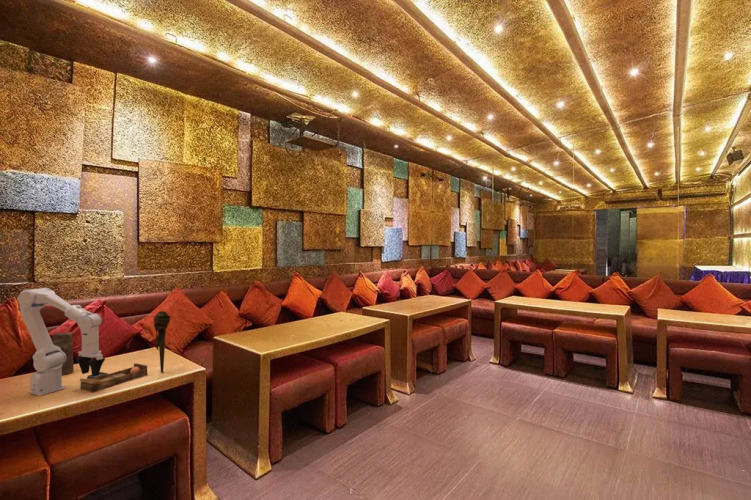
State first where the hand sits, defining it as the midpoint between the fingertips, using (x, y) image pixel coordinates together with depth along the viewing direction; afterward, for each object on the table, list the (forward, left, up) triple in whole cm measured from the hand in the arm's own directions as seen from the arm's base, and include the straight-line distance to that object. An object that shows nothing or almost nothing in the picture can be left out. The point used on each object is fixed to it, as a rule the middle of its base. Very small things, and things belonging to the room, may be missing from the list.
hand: (90, 374), depth 153 cm
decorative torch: (+26, -8, -7) cm, 28 cm away
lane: (+10, 0, -6) cm, 11 cm away
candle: (+6, +36, -7) cm, 37 cm away
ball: (+18, 0, -4) cm, 19 cm away
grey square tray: (+8, +9, -6) cm, 13 cm away
